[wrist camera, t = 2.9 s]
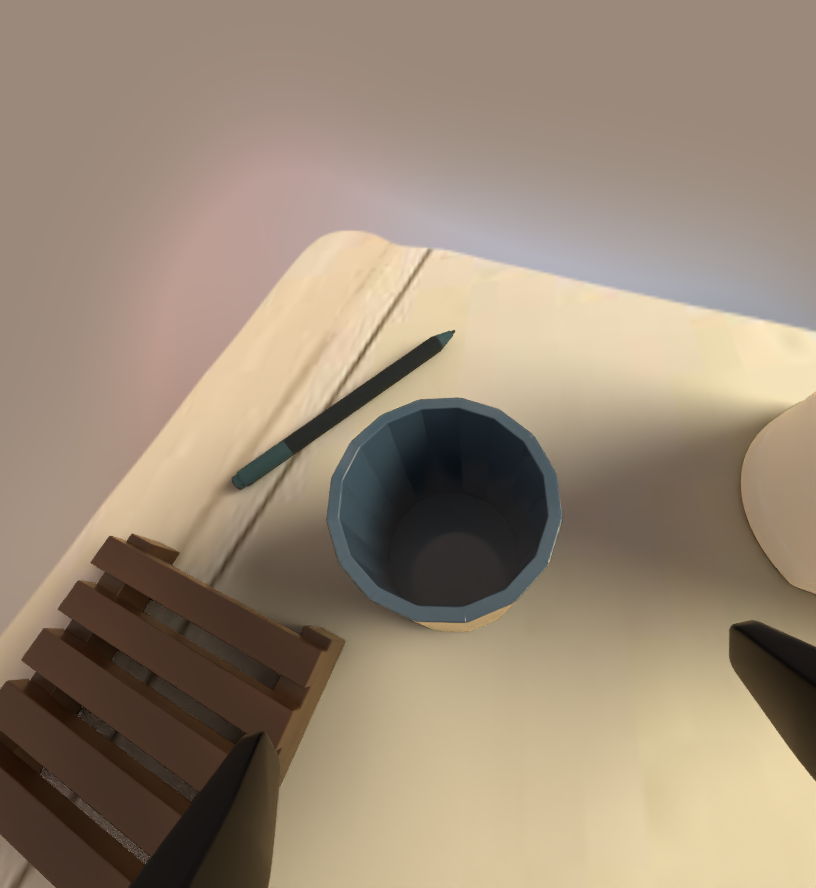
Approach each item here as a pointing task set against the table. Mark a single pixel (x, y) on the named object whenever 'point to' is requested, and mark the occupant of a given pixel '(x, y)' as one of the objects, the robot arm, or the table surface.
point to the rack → (139, 712)
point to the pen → (339, 411)
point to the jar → (785, 492)
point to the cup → (444, 512)
